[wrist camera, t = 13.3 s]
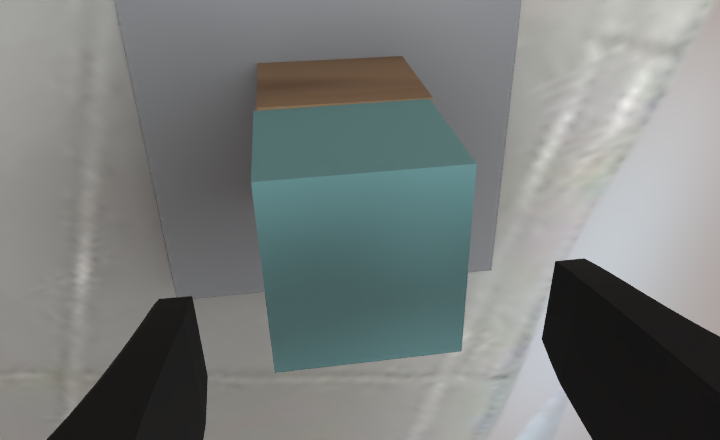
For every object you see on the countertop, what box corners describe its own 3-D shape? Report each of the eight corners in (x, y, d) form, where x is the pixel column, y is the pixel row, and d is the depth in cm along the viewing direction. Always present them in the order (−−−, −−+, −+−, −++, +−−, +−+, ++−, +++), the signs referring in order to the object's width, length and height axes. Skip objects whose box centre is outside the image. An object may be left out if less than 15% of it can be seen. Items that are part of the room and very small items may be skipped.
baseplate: (483, 256, 25) (491, 270, 24) (180, 284, 23) (177, 300, 23) (516, -71, 19) (529, -68, 18) (110, -58, 17) (103, -54, 16)
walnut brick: (398, 196, 22) (424, 259, 18) (271, 206, 21) (273, 272, 18) (402, 56, 19) (432, 97, 16) (257, 63, 19) (256, 107, 15)
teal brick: (423, 259, 18) (461, 351, 15) (272, 274, 18) (275, 372, 14) (429, 98, 16) (476, 163, 12) (253, 110, 15) (250, 182, 12)
